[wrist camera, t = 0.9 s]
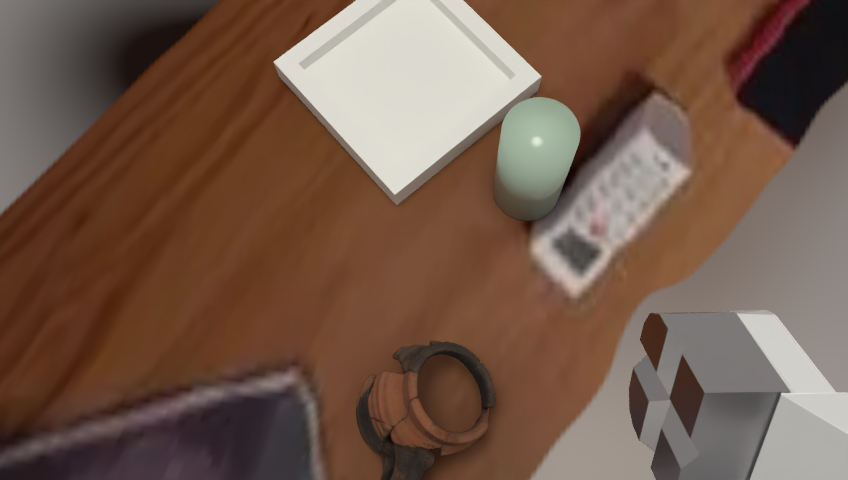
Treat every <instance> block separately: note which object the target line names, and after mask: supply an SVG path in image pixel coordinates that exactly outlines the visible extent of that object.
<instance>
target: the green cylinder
mask: <svg viewBox="0 0 848 480" xmlns="http://www.w3.org/2000/svg"><path fill="white" fill-rule="evenodd" d="M579 141H580V128H579V124H578V121H577V119H576V117H575V116H574V114H573V113H572V112H571V110H570V109H569V108H567V107H566V106H565V105H563V104H562V103H560V102H558V101H556V100H553V99H550V98H543V97H536V98H530V99H526V100H523V101H521V102H519V103H518V104H516V105H515V106H514V107H512V108H511V109H510V111H509V112H508V113H507V115H506V116H505V118H504V121H503V124H502V129H501V136H500V143H499V149H498V156H497V163H496V169H495V176H494V183H493V195H494V199H495V201H496V203H497V205H498V207H499V208H500V209H501V210H502V211H503V212H504V213H505V214H507V215H508V216H510V217H512V218H514V219H517V220H521V221H533V220H537V219H540V218H542V217H544V216H546V215H547V214H548V213H550V212H551V211H552V209H553V208H554V207H555V205H556V203H557V201H558V198H559V196H560V193H561V190H562V188H563V185H564V182H565V179H566V177H567V174H568V171H569V169H570V166H571V163H572V161H573V158H574V155H575V153H576V150H577V147H578V145H579Z"/></svg>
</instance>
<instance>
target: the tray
mask: <svg viewBox="0 0 848 480" xmlns="http://www.w3.org/2000/svg"><path fill="white" fill-rule="evenodd" d="M274 65H275V67H276V70H277V72H278V75H279V77H280V78H281V79H282V80H283V81H284V82H285V83H286V85H287V86H288V87H289V88H290V89H291V90H292V91H293V92H294V93H295V94H296V96H297V97H298V98H299V99H300V100H301V101H302V102H303V103H304V104H305V105H306V107H307V108H308V109H309V110H310V111H311V112H312V113H313V114H314V115H315V116H316V118H317V119H318V120H319V121H320V122H321V123H322V124H323V125H324V126H325V127H326V129H327V130H328V131H329V132H330V133H331V134H332V135H333V136H334V137H335V138H336V140H337V141H338V142H339V143H340V144H341V145H342V146H343V147H344V148H345V149H346V151H347V152H348V153H349V154H350V155H351V156H352V157H353V158H354V159H355V160H356V162H357V163H358V164H359V165H360V166H361V167H362V168H363V169H364V170H365V171H366V173H367V174H368V175H369V176H370V177H371V178H372V179H373V180H374V181H375V182H376V184H377V185H378V186H379V187H380V188H381V189H382V190H383V191H384V192H385V193H386V195H387V196H388V197H389V198H390V199H391V200H392V201H393V202H394V203H395V204H396V205H398V204H399V203H401V202H402V201H403V200H404V199H405V198H407V197H408V196H409V195H410V194H412V193H413V192H414V191H415V190H417V189H418V188H419V187H420V186H422V185H423V184H424V183H425V182H426V181H428V180H429V179H430V178H431V177H433V176H434V175H435V174H436V173H438V172H439V171H440V170H441V169H442V168H444V167H445V166H446V165H447V164H449V163H450V162H451V161H452V160H454V159H455V158H456V157H457V156H459V155H460V154H461V153H462V152H463V151H465V150H466V149H467V148H468V147H470V146H471V145H472V144H473V143H475V142H476V141H477V140H478V139H479V138H481V137H482V136H483V135H484V134H486V133H487V132H488V131H489V130H491V129H492V128H493V127H494V126H496V125H497V124H498V123H499V122H500V121H502V120H503V119H504V118H505V116H506V115H507V113H508V112H509V111H510V109H511V108H512V107H514V106H515V105H516V104H518V103H519V102H521V101H523V100H526V99H529V98H530V97H531V96H533V95H534V94H535V93H536V92H537V91H538V90H539V86H540V81H541V77H542V76H541V75H539V74H538V73H537V72H536V71H535V70H534V69H533V68H532V67H531V66H530V65H529V64H528V63H527V62H526V61H525V60H524V59H523V58H522V57H521V56H520V55H519V54H518V53H517V52H516V51H515V50H514V49H513V48H512V47H511V46H510V45H509V44H508V43H507V42H506V41H504V40H503V39H502V38H501V37H500V36H499V35H498V34H497V33H496V32H495V31H494V30H493V29H492V28H491V27H490V26H489V25H488V24H487V23H486V22H485V21H484V20H483V19H482V18H481V17H480V16H479V15H478V14H477V13H476V12H475V11H474V10H473V9H472V8H471V7H470V6H468V5H467V4H466V3H465V2H464V1H463V0H356V1H355V2H354V3H352V4H351V5H349V6H348V7H347V8H345V9H344V10H343V11H341V12H340V13H339V14H337V15H336V16H335V17H333V18H332V19H331V20H329V21H328V22H327V23H325V24H324V25H323V26H321V27H320V28H319V29H317V30H316V31H314V32H313V33H312V34H310V35H309V36H308V37H306V38H305V39H304V40H302V41H301V42H300V43H298V44H297V45H296V46H294V47H293V48H292V49H290V50H289V51H288V52H286V53H285V54H284V55H282V56H281V57H280V58H278V59H277V60H275V61H274Z"/></svg>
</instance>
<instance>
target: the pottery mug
mask: <svg viewBox="0 0 848 480" xmlns="http://www.w3.org/2000/svg"><path fill="white" fill-rule="evenodd" d="M438 354H445V355H449V356H452V357H455V358H457V359H458V360H460V361H461V362H462V363H463V364H464V365H465V366H466V367H467V368H468V369H469V370H470V372H471V373H472V374H473V376H474V378H475V380H476V382H477V384H478V386H479V389H480V393H481V399H482V411H481V416H480V417H479V418H478V420H477V421H476V423H475V425H474V426H473V427H472V428H471V429H470V430H468V431H465V432H461V433H455V432H449V431H445V430H444V429H442V428H440V427H439V426H437V425H436V424H435V423H434V422H433V421H432V420H431V419H430V418H429V417H428V415H427V414H426V412H425V411H424V409H423V407H422V405H421V402H420V399H419V397H418V389H417V383H418V373H419V371H420V369H421V367H422V365H423V364H424V363H425V361H426V360H428V359H429V358H430V357H432V356H434V355H438ZM393 358H394V359H397V360H399V362H400V364H401V365H402V368H403V372H404V374H400V373H396V372H395V373H393V372H387V371H382V373H380V374H379V375H378V376H377V377H376V376H375V375H373V374H371V375H369V377H368V378H367V379H366V381H365V382H364V384H363V387H362V389H361V391H360V393H359V397H358V400H357V408H356V417H357V424H358V427H359V430H360V433H361V435H362V437H363V439H364V441H365V442H366V443H367V444H368V445H369V447H370V448H371V449H372V450H373V451H374V452H375V453H376V454H378V455H380V456H381V457H382V462H383V474H382V478H381V480H422V478H423V475H424V473H425V471H426V470H427V469H429V468H432V467H433V465H434V461H435V455H434V454H433V453H432V452H431V451H429V449H434V448H440V449H439V450H440V451H439V452H440V455H441V456H442V455H443V456H444V455H449V454H453V453H455V452H459V451H462V450H464V449H466V448H468V447H469V446H471V445H473V444H474V443H476V442H477V441H478V440H480V439H481V438H482V436H483V435H484V434H485V432H486V430H487V429H488V427H489V424H488V419H489V408H490V407H493V406H494V405H495V404H496V397H495V390H494V387H493V383H492V379H491V377H490V375H489V372H488V371H487V369H486V368H485V367H484V365H483V364H482V363H480V360H479V359H478V358H477V357H476V356H475V354H473V353H472V352H470V351H469V350H468V349H466V348H465V347H463V346H461V345H458V344H455V343H450V342H444V343H442V342H438V341H433V340H431V341H430V345H429V346H425V345H413V346H410V347H401V348H400V349H399V350H397V351H396V352H395V353H394V354H393ZM373 382H374V384H373ZM372 384H373V387H371V386H372ZM389 435H391V439H392V441H393V443H394V444H395V445H394V444H391V443H389V442H387V439H388V437H389Z"/></svg>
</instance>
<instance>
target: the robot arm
mask: <svg viewBox="0 0 848 480" xmlns="http://www.w3.org/2000/svg"><path fill="white" fill-rule="evenodd" d="M640 341H641V343H642V344H643V347H644V349H645V351H646V353H647V355H646V356H645V357H644V358H643V359H642V360H641V361H640V362H639V363H638V364H637V365H636V366H634V367H633V372H632V377H631V382H630V387H629V407H630V414H631V418H632V423H633V427H634V429H635V431H636V434H637V436H638V439H639V441H641V442H642V443H643V444H644V445H646V446H647V447H649V448H650V449H651V450H653V451H654V452H655V454H654V457H653V461H652V465H651V469H652V471H653V473H654V476H655V478H656V480H848V392H843V393H842V392H841V393H836V392H835V390H834V389H833V388H832V387H831V385H830V384H829V383H828V381H827V380H826V379H825V378H824V376H823V375H822V374H821V372H820V371H819V370H818V369H817V368H816V366H815V365H814V363H813V362H812V361H811V360H810V358H809V357H808V356H807V354H806V353H805V352H804V351H803V350H802V348H801V347H800V346H799V344H798V343H797V342H796V340H795V339H794V338H793V337H792V335H791V334H790V333H789V332H788V330H787V329H786V328H785V326H784V325H783V324H782V322H781V321H780V320H779V319H778V317H777V316H776V315H775V314H773V313H771V312H769V311H767V310H744V311H728V312H704V313H703V312H699V313H650V314H649V316H648V318H647V319H646V321H645V323H644V326H643V330H642V334H641V338H640Z"/></svg>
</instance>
